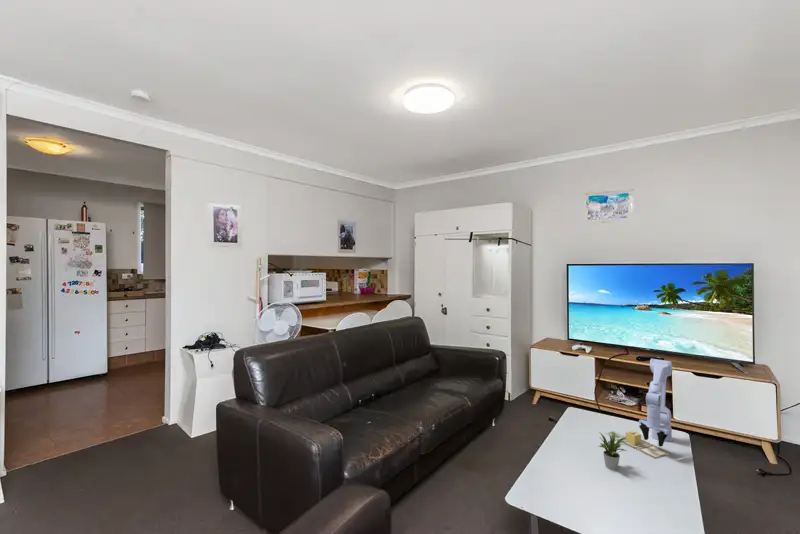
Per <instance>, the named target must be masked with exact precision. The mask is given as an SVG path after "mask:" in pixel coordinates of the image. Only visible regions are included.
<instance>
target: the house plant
mask: <svg viewBox="0 0 800 534" xmlns="http://www.w3.org/2000/svg"><path fill="white" fill-rule="evenodd" d="M599 434H600V436H601V437H599V436H598V437H599V439H601V438H602V439H601V441H602V442H603V443H601V442H600V445H598V447H599V448H602V449H603V448H604V451H603V452H602V454H603V460H604V466H605V467H606V468H607V469H609V470H613V471H615V470H618V467H619V464H620V458H621V455H620V454H619V453H620V452H623V451H624V452H628V450H627V449H624V448H621V447H622V446H625V444H623V443H621V442H628V441H622V440H624V439H623V438H625V437H626V436H624V437H620V438H621V439H620V438H616V439H615V433H613V434H612V436H609V435H610V434H609V435H608V436H609V439H610V440H607V439H606V436H605V435H604V434H603V433H601V432H600V431H599ZM617 440H618V441H617ZM618 450H619V451H618Z"/></svg>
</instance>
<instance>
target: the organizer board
mask: <svg viewBox="0 0 800 534" xmlns="http://www.w3.org/2000/svg"><path fill="white" fill-rule="evenodd" d="M613 433H615V440H616V442H617V441H618V440H617V439H621V438H623V437H625V438H623V439H624V440H622V441H626V436H625V435H624V434H622V433H619V432H617V431H615V430H613V431H609V432H605V433H604V434H605V435H606V436H609V437H610V436H612V434H613ZM609 434H610V435H609ZM622 443H623V444H624V446H627V447H630V448H631V449H635V450H636V451H638V452H639V453H642V454H644V455H646V456H649V457H651V458H652V459H658V458H662V457H666V456H669V455H672V452H670V451H668V450H666V449H664V448H662V447H660V446H657V445H655V444H652V443H651V442H648V441H647V440H644V439H642V438H641V444H638V445H633V444H631V443H628V442H621V443H620V444H622Z"/></svg>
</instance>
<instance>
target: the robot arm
mask: <svg viewBox="0 0 800 534" xmlns="http://www.w3.org/2000/svg"><path fill="white" fill-rule="evenodd" d="M649 369H650V371H651V373H652V374H653V377H652V380H651V381H650V382H649V387H648V392H646V395H645V403H646V404H645V405H646V407H647V408H646V420H644V419H639V420H638V424H639V429H640V431H641V433H642V436H643V440H644V441H647V440H649V438H650V437H649V436H650V435H649V433H650V429H651V438H652V439H653V440H655V441H657V442H658V447H659V448H662V447H663V446H664V443H665V442H674V439H673V436H672V434H673V432H672V431H673V430H672V426H671V424H672V412H671V410H670V409H669V408H668V407H667V406H666V397H667V396H666V394H667V390H666V389H667V379H668V377H671V376H672V374H673V373H672V372H673V362H672V361H671V360H663V359H657V358H650V360H649Z"/></svg>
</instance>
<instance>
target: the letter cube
mask: <svg viewBox="0 0 800 534" xmlns="http://www.w3.org/2000/svg"><path fill="white" fill-rule="evenodd" d="M625 437H626V441H628V443H631V444H633V445H638V444H641V439H642V434H641V433H639V432H636V431H635V430H630V431H626V432H625Z"/></svg>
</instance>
